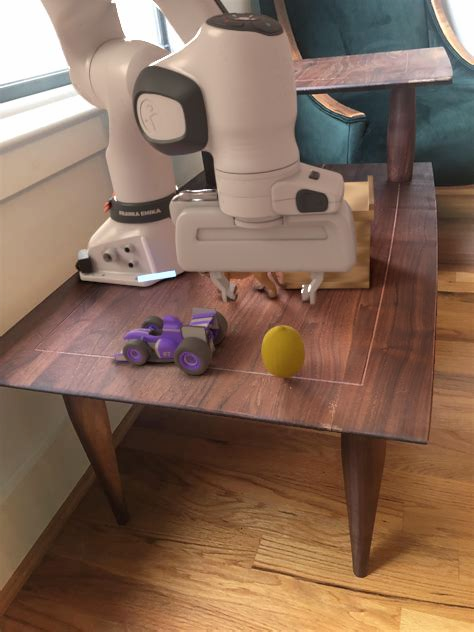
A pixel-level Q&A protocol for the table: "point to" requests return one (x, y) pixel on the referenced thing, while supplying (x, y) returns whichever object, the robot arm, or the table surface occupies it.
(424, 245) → the table surface
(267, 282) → the lion figurine
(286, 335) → the lemon
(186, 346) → the toy race car
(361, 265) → the wooden crate box
